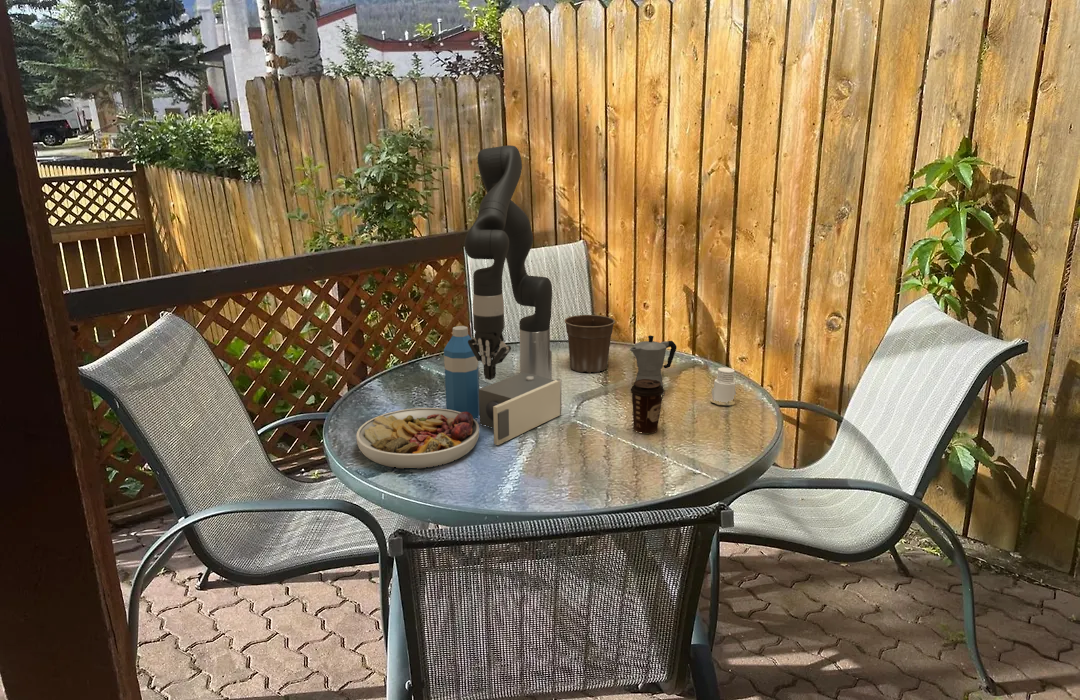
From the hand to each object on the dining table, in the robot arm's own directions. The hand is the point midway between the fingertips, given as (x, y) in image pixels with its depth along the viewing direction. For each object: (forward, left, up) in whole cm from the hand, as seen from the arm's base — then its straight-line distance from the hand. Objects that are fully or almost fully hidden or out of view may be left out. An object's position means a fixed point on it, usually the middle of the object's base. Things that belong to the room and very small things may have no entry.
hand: (489, 378), depth 192 cm
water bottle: (-6, -16, -16) cm, 23 cm away
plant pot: (-62, -13, -16) cm, 65 cm away
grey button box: (-13, -2, -16) cm, 21 cm away
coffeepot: (-53, +16, -16) cm, 58 cm away
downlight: (-59, +36, -16) cm, 71 cm away
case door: (-9, +5, -15) cm, 19 cm away
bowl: (+16, -10, -16) cm, 25 cm away
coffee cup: (-28, +29, -16) cm, 44 cm away
